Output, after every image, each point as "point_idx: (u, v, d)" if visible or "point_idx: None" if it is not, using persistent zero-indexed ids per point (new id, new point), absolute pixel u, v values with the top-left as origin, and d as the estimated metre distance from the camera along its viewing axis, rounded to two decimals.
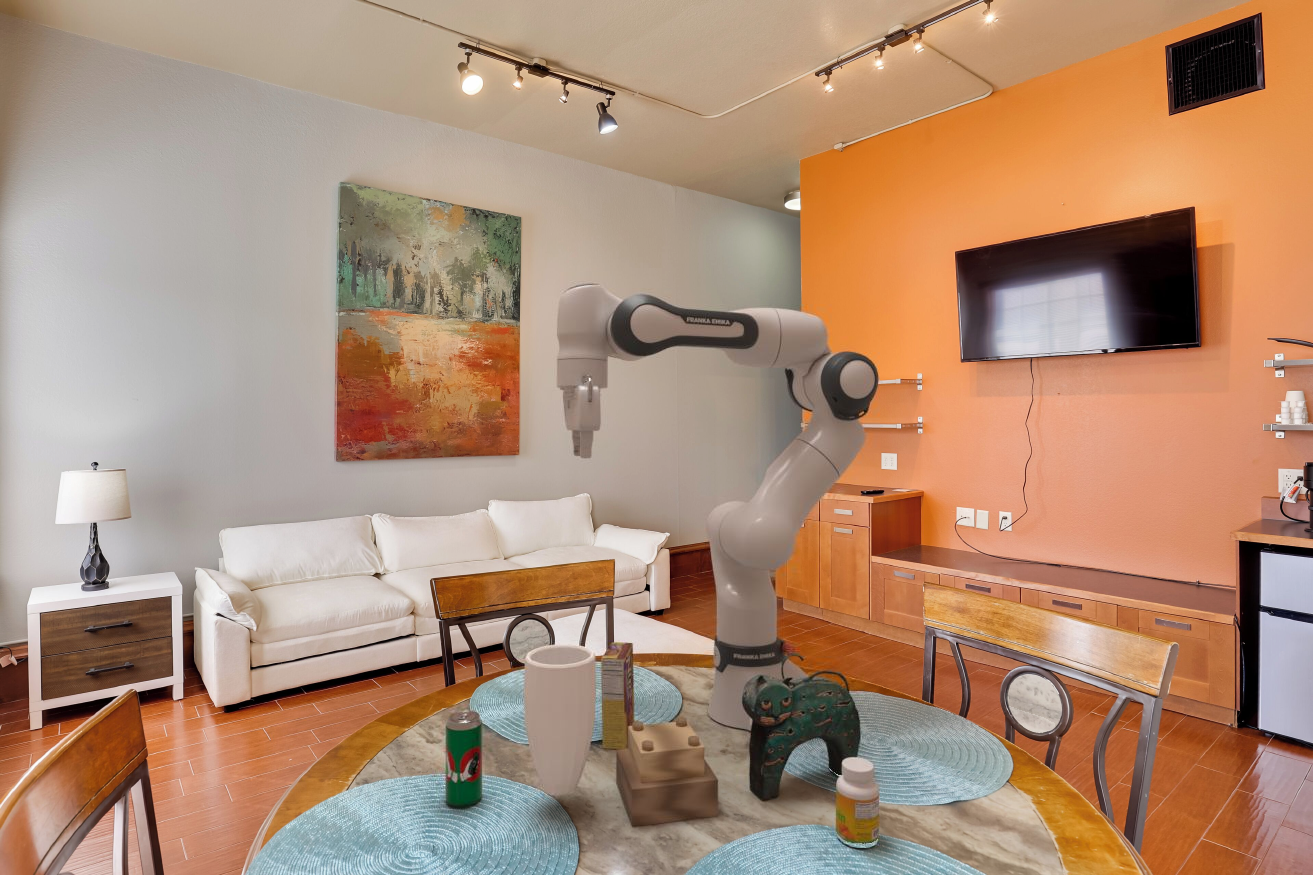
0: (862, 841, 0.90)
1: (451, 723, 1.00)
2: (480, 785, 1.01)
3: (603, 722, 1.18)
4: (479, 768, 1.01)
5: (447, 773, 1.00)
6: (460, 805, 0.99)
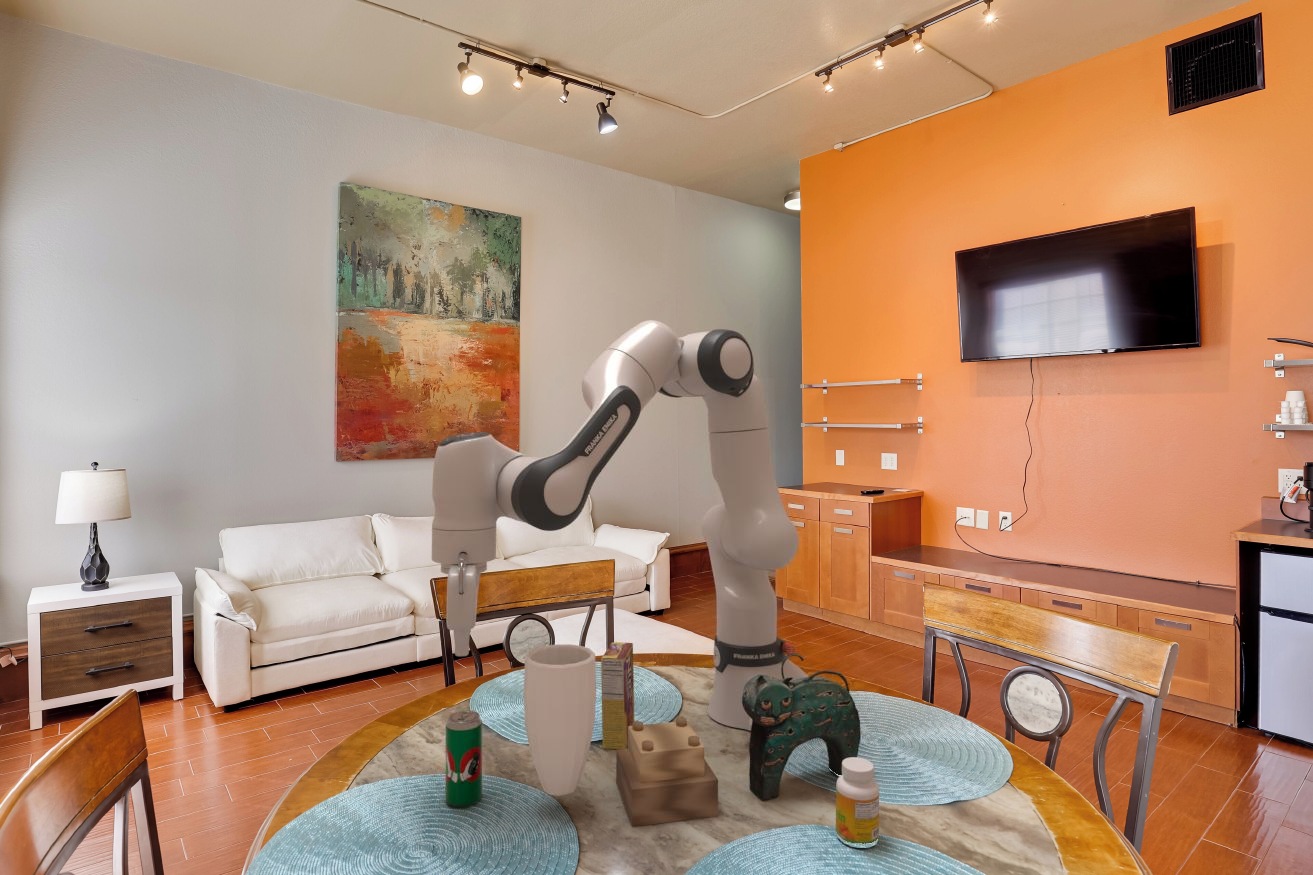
0: (862, 841, 0.90)
1: (451, 723, 1.00)
2: (480, 785, 1.01)
3: (603, 722, 1.18)
4: (479, 768, 1.01)
5: (447, 773, 1.00)
6: (460, 805, 0.99)
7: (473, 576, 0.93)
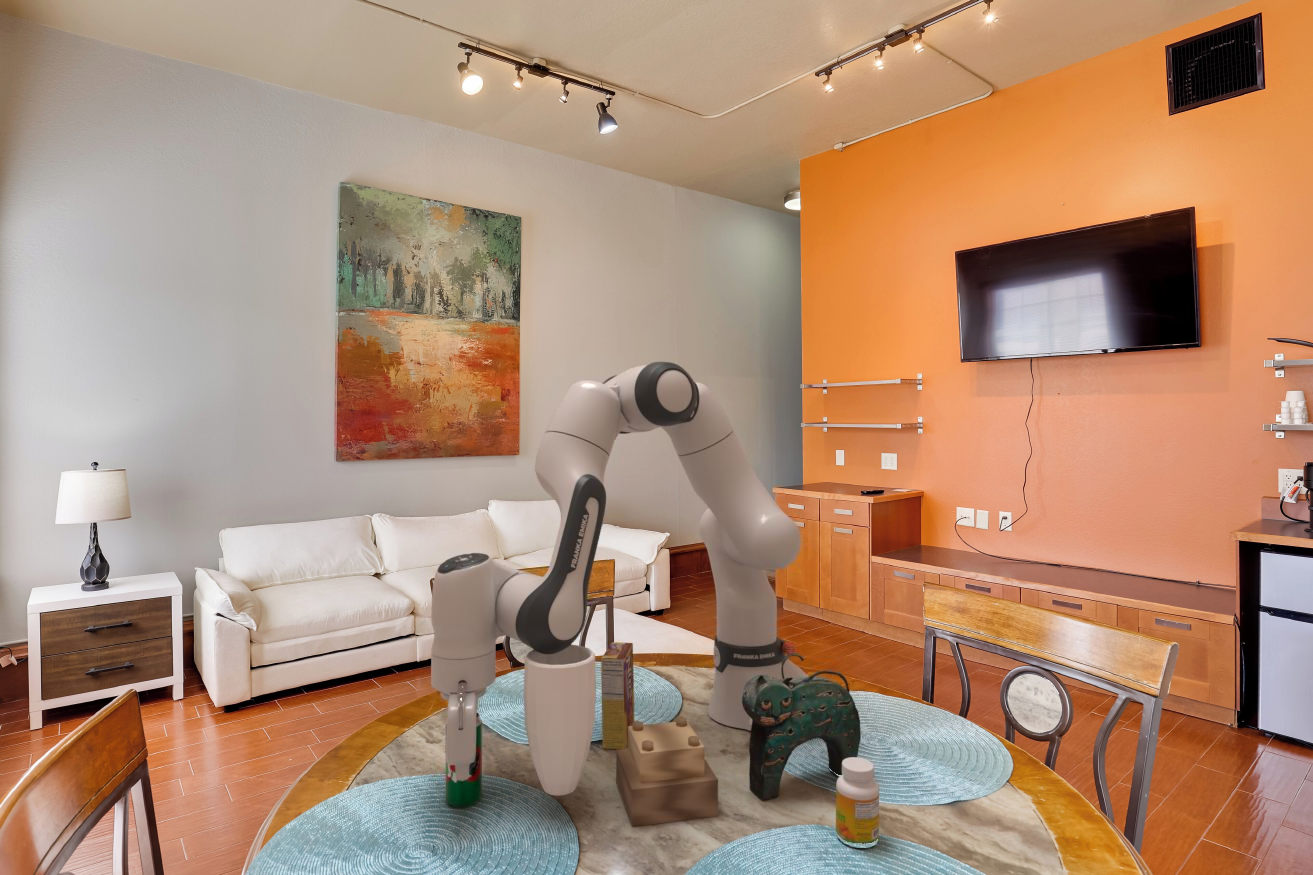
0: (862, 841, 0.90)
1: None
2: (480, 785, 1.01)
3: (603, 722, 1.18)
4: (479, 768, 1.01)
5: (447, 773, 1.00)
6: (460, 805, 0.99)
7: (472, 710, 0.93)
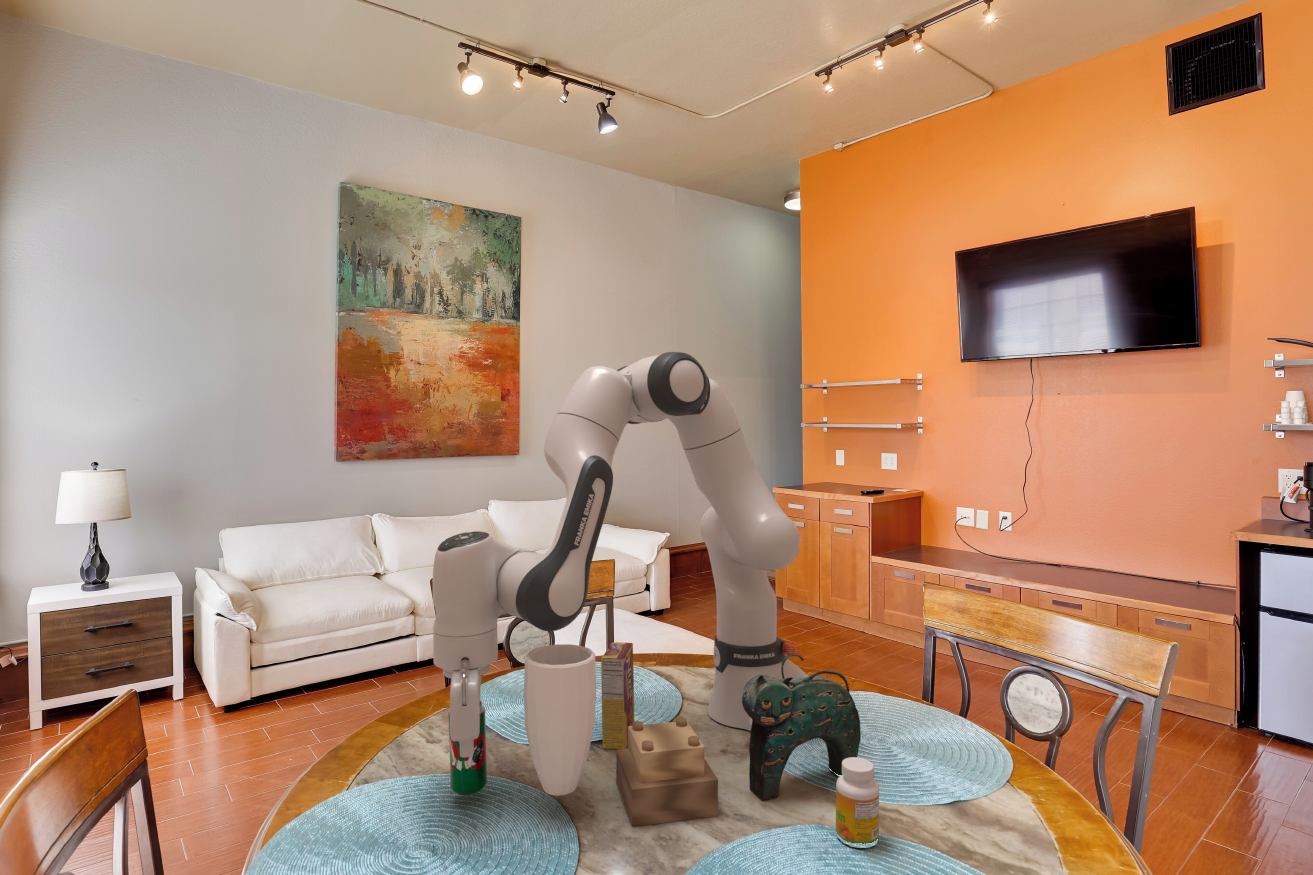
0: (862, 841, 0.90)
1: None
2: (485, 772, 1.01)
3: (603, 722, 1.18)
4: (483, 756, 1.01)
5: (451, 761, 1.00)
6: (465, 793, 0.99)
7: (476, 686, 0.93)
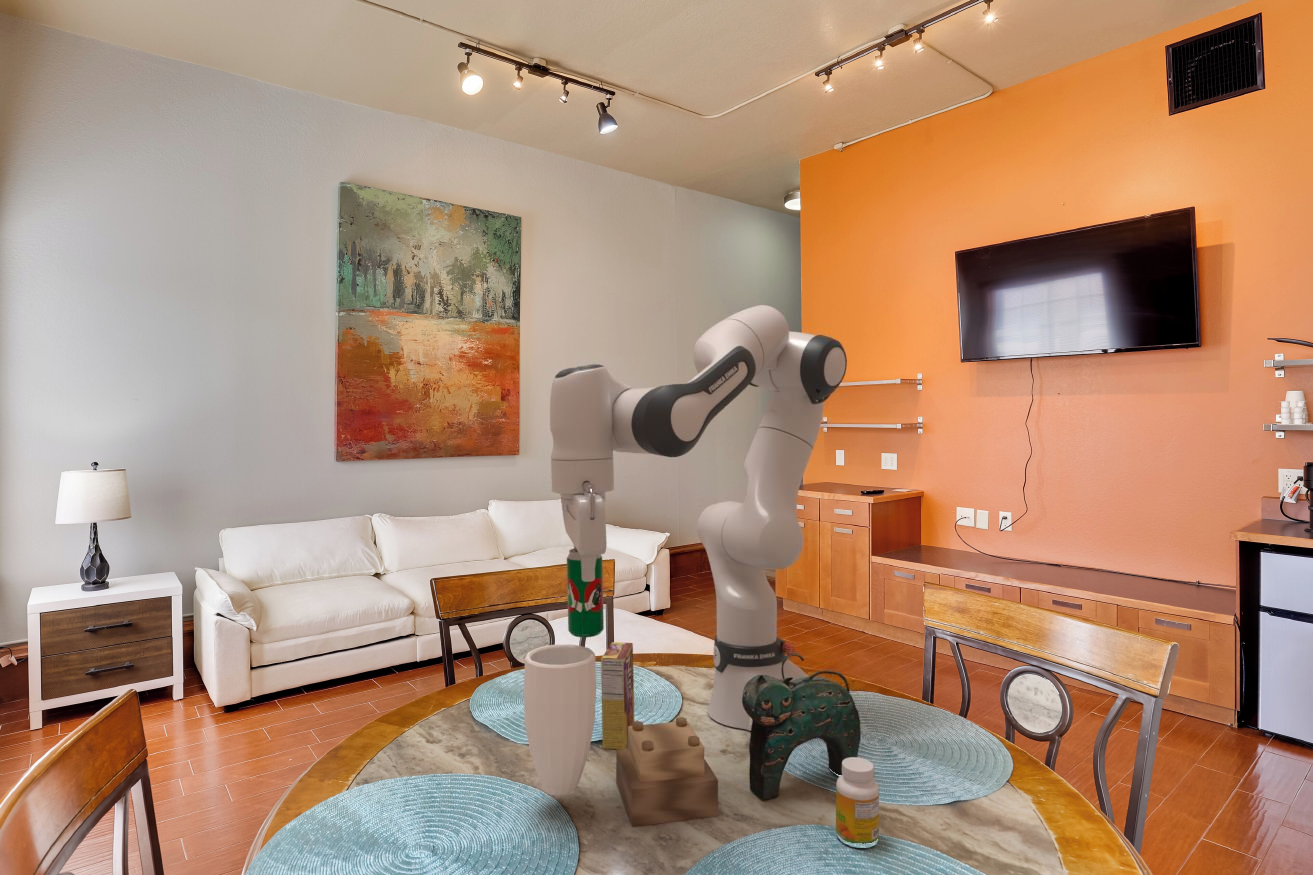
0: (862, 841, 0.90)
1: (573, 555, 1.00)
2: (602, 617, 1.01)
3: (603, 722, 1.18)
4: (601, 600, 1.01)
5: (571, 604, 1.00)
6: (585, 635, 1.00)
7: (602, 502, 0.93)
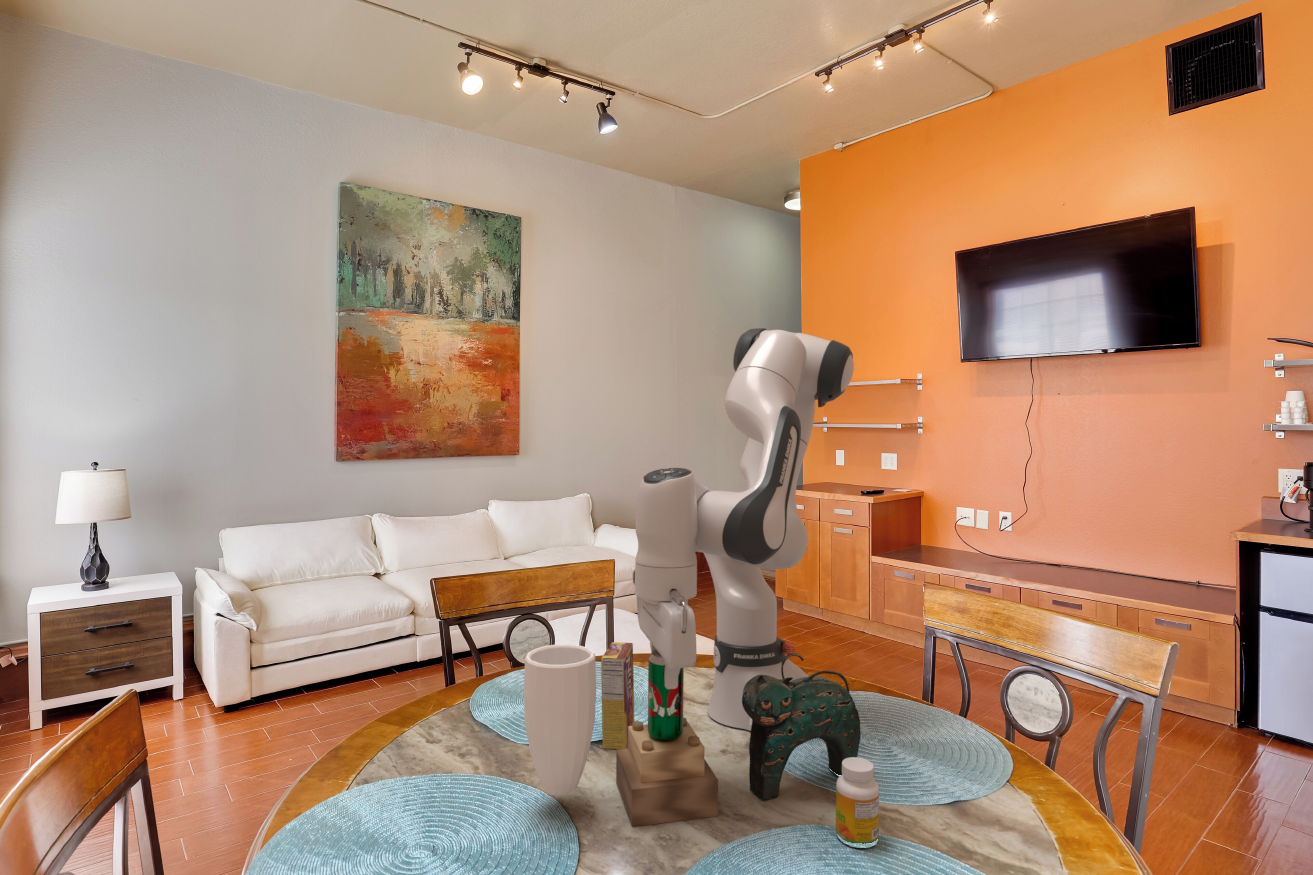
0: (862, 841, 0.90)
1: (656, 659, 1.00)
2: (682, 720, 1.02)
3: (603, 722, 1.18)
4: (682, 704, 1.01)
5: (652, 708, 1.00)
6: (667, 739, 1.00)
7: (693, 614, 0.93)
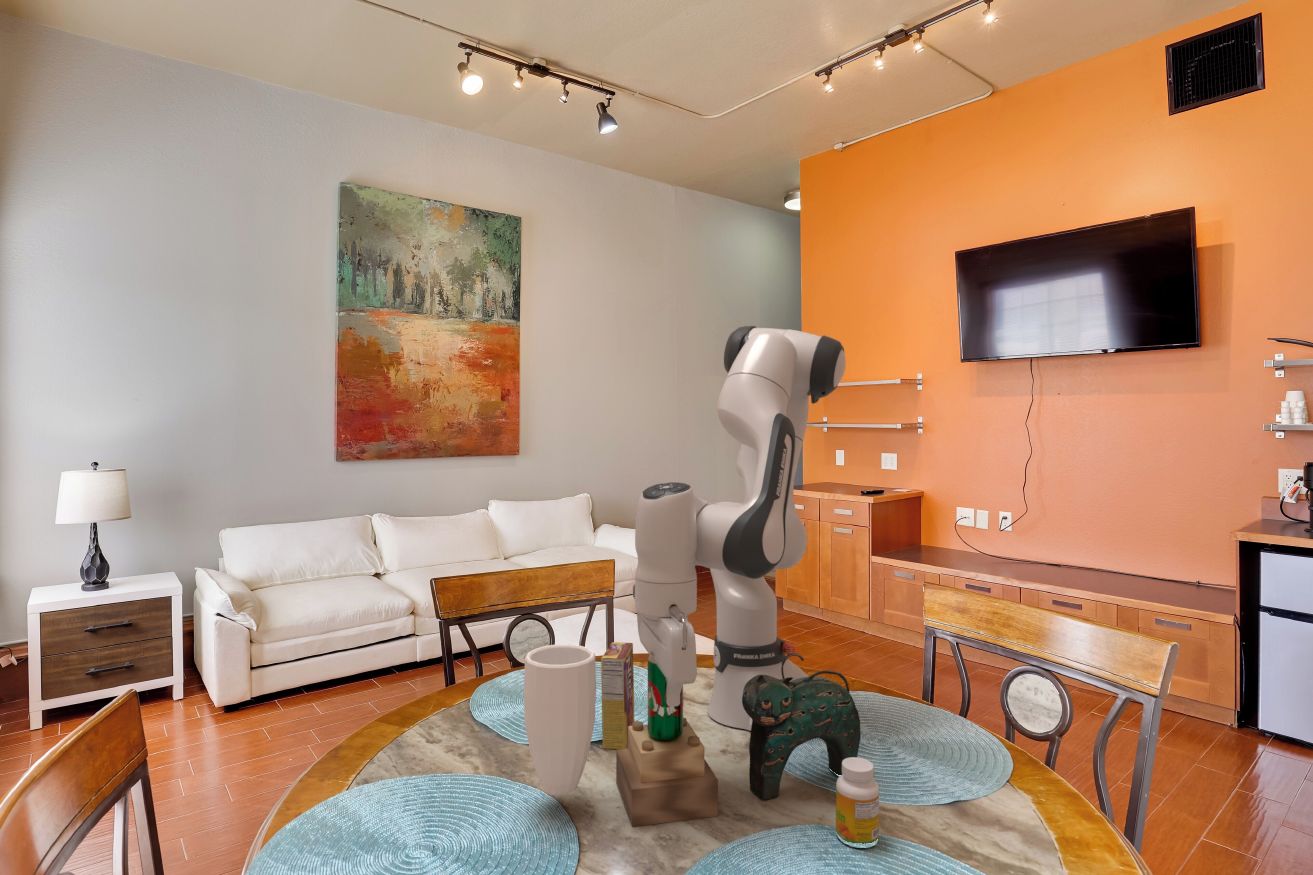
0: (862, 841, 0.90)
1: None
2: (682, 720, 1.02)
3: (603, 722, 1.18)
4: (682, 703, 1.01)
5: (652, 708, 1.00)
6: (667, 739, 1.00)
7: (693, 631, 0.93)
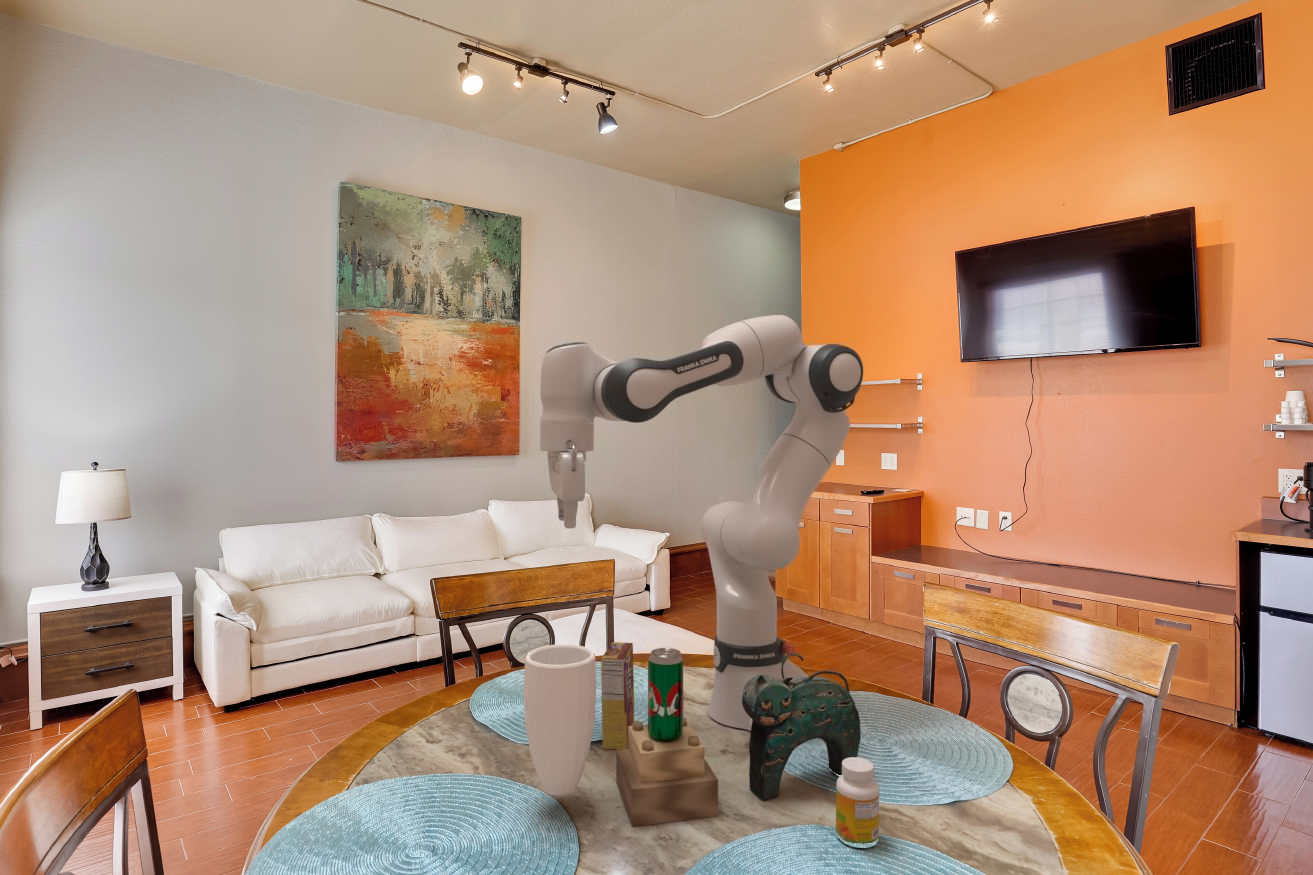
0: (862, 841, 0.90)
1: (656, 658, 1.00)
2: (682, 720, 1.02)
3: (603, 722, 1.18)
4: (682, 703, 1.01)
5: (652, 708, 1.00)
6: (667, 739, 1.00)
7: (582, 457, 1.10)
